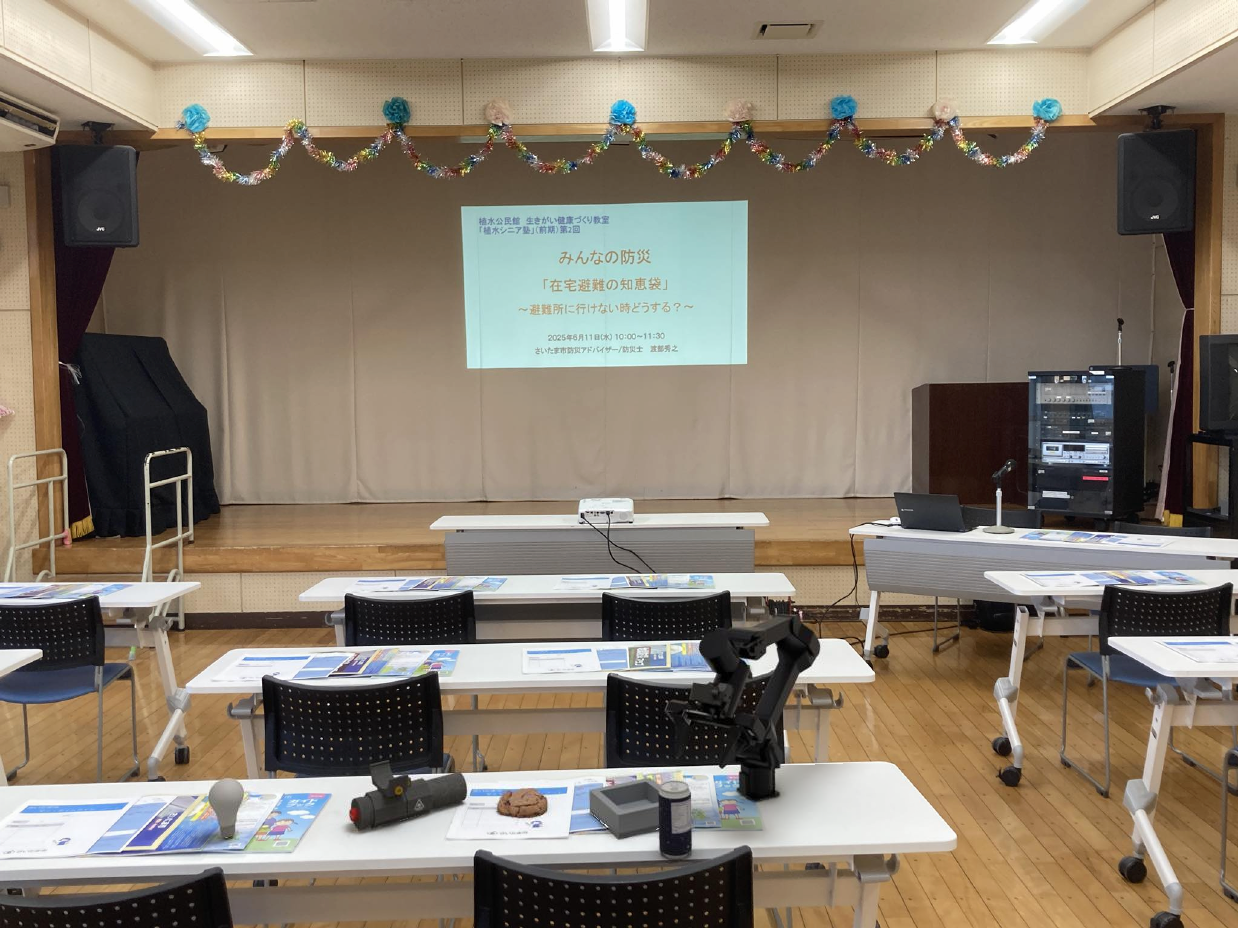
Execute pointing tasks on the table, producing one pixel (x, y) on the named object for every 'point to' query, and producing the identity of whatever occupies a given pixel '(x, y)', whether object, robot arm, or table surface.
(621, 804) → the can bin
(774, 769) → the robot arm
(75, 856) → the table surface
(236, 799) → the lightbulb
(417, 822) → the table surface
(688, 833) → the beverage can
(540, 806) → the cookie
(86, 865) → the table surface
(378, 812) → the laser sight
